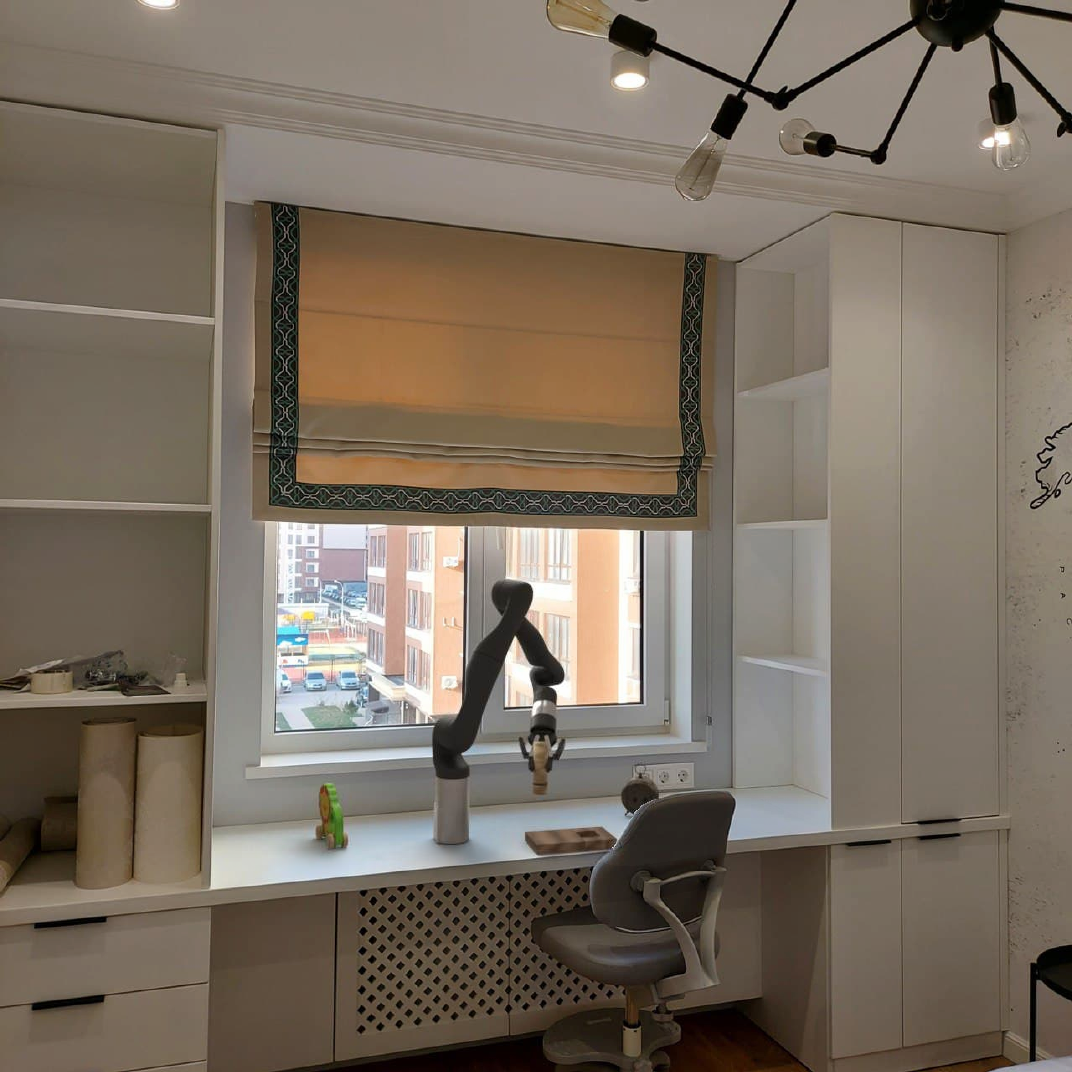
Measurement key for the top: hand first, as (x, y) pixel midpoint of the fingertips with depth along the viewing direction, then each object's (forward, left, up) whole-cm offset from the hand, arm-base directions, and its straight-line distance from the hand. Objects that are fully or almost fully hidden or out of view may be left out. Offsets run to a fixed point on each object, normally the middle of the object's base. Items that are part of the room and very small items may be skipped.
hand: (540, 770), depth 261 cm
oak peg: (+1, +2, -7) cm, 7 cm away
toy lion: (-56, +8, -18) cm, 60 cm away
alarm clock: (+34, +10, -18) cm, 40 cm away
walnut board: (+6, -10, -18) cm, 21 cm away
